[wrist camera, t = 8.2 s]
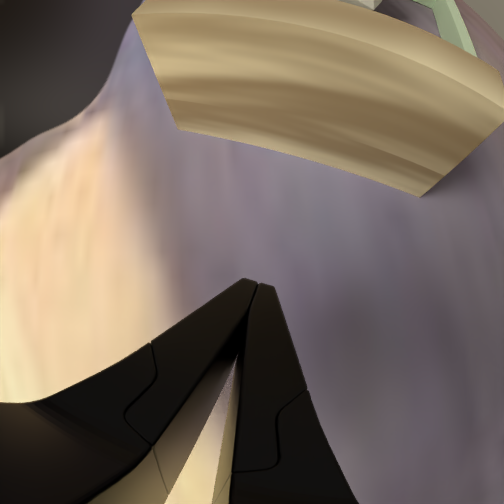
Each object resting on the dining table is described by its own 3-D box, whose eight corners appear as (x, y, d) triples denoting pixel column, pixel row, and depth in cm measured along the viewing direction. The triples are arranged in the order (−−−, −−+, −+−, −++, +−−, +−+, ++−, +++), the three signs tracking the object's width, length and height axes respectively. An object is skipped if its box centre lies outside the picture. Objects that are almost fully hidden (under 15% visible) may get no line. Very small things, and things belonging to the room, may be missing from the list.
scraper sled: (418, 198, 15) (511, 113, 7) (178, 130, 16) (131, 14, 8) (419, 59, 18) (457, -19, 9) (246, 13, 19) (241, -73, 10)
